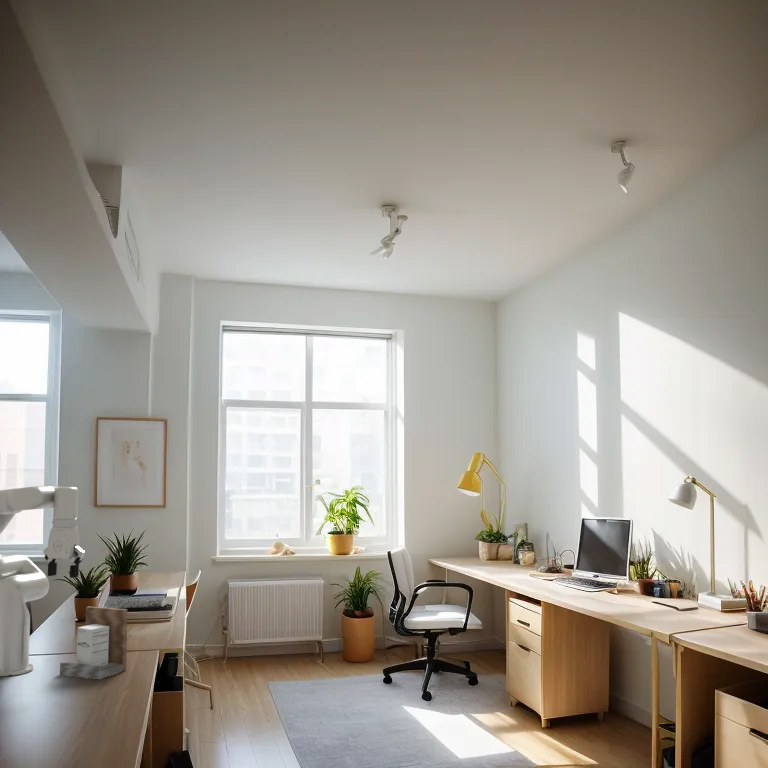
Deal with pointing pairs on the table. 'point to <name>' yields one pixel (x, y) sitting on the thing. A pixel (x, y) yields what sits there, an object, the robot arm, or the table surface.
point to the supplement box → (93, 645)
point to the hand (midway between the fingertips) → (62, 576)
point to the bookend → (116, 644)
